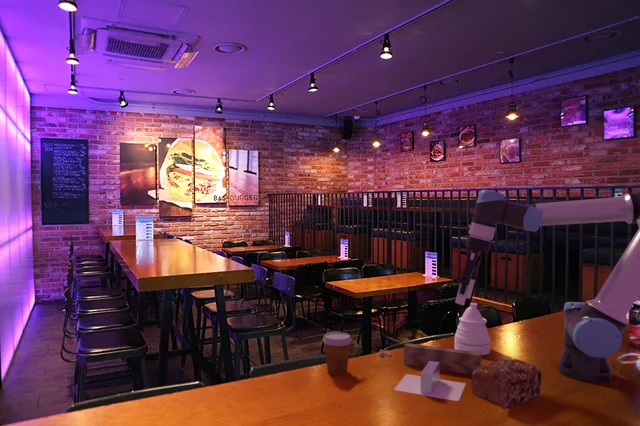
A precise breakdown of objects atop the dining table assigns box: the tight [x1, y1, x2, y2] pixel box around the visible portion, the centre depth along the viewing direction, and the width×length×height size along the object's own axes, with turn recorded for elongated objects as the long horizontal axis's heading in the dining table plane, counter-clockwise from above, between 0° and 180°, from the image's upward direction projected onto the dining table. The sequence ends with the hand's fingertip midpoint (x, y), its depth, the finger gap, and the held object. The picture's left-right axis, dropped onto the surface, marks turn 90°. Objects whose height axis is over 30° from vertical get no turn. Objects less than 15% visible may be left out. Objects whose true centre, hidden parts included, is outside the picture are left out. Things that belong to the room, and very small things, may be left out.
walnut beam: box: [403, 342, 482, 375], centre depth 146 cm, size 24×3×8 cm, turn 64°
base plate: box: [393, 373, 467, 402], centre depth 130 cm, size 18×14×2 cm
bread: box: [470, 358, 543, 410], centre depth 127 cm, size 19×11×10 cm, turn 121°
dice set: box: [378, 349, 393, 358], centre depth 163 cm, size 5×5×2 cm
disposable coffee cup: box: [322, 331, 353, 376], centre depth 147 cm, size 10×10×12 cm
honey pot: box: [454, 302, 491, 356], centre depth 170 cm, size 13×13×18 cm
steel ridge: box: [420, 361, 441, 395], centre depth 130 cm, size 3×12×6 cm, turn 154°
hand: (462, 300), depth 146 cm, fingers open, 13 cm apart
